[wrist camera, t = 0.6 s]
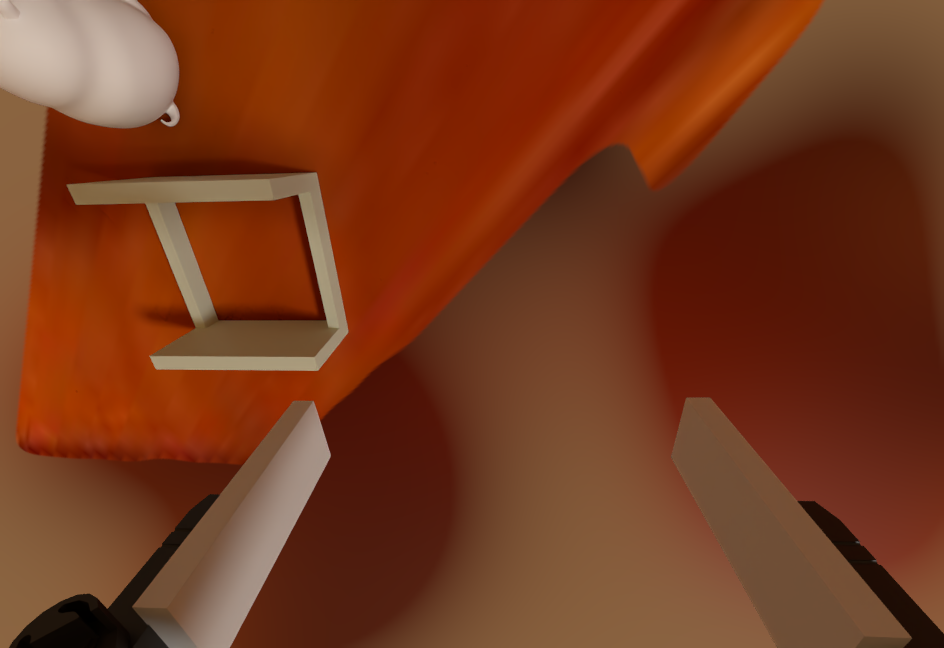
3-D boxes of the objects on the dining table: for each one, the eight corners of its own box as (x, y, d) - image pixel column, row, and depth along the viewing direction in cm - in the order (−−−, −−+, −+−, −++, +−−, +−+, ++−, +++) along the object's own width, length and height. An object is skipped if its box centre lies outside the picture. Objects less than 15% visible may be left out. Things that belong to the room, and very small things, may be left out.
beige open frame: (153, 177, 35) (66, 184, 28) (316, 172, 34) (269, 179, 27) (213, 331, 43) (156, 369, 36) (348, 332, 42) (317, 370, 34)
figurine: (228, 87, 32) (90, 56, 21) (164, 157, 34) (15, 162, 24) (127, -36, 28) (-98, -148, 18) (66, 53, 31) (-159, 4, 20)
